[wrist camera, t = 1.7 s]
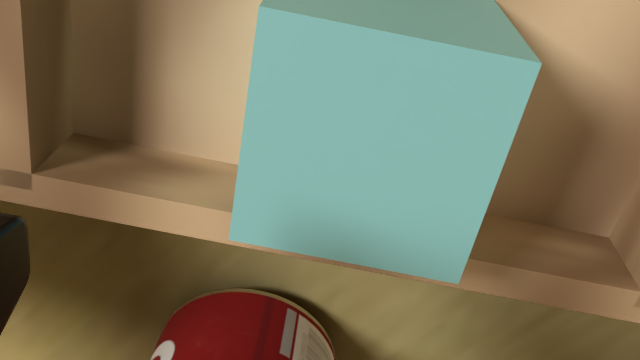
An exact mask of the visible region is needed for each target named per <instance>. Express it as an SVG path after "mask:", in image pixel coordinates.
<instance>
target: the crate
mask: <svg viewBox="0 0 640 360" xmlns="http://www.w3.org/2000/svg"><path fill="white" fill-rule="evenodd" d="M262 1H263V0H0V200H1V201H6V202H12V203H17V204H22V205H27V206H32V207H38V208H43V209H48V210H53V211H58V212H63V213H69V214H74V215H79V216H84V217H89V218H95V219H100V220H105V221H110V222H115V223H121V224H126V225H131V226H136V227H141V228H147V229H152V230H157V231H162V232H167V233H173V234H178V235H183V236H188V237H193V238H199V239H204V240H209V241H214V242H219V243H225V244H230V245H235V246H240V247H245V248H251V249H256V250H261V251H266V252H271V253H277V254H282V255H287V256H292V257H297V258H302V259H308V260H313V261H318V262H323V263H328V264H334V265H339V266H344V267H349V268H354V269H360V270H365V271H370V272H375V273H380V274H386V275H391V276H396V277H401V278H406V279H412V280H417V281H422V282H427V283H432V284H438V285H443V286H448V287H453V288H458V289H464V290H469V291H474V292H479V293H484V294H490V295H495V296H500V297H505V298H510V299H516V300H521V301H526V302H531V303H536V304H541V305H547V306H552V307H557V308H562V309H567V310H573V311H578V312H583V313H588V314H593V315H599V316H604V317H609V318H614V319H619V320H625V321H630V322H635V323H640V0H495V2H496V3H497V4H498V6H499V7H500V8H501V10H502V11H503V12H504V14H505V15H506V16H507V18H508V19H509V20H510V22H511V23H512V24H513V26H514V27H515V28H516V29H517V31H518V32H519V33H520V35H521V36H522V37H523V39H524V40H525V41H526V43H527V44H528V45H529V47H530V48H531V49H532V51H533V52H534V53H535V54H536V56H537V57H538V58H539V60H540V61H541V62H542V65H541V68H540V70H539V73H538V75H537V78H536V81H535V83H534V86H533V89H532V91H531V94H530V97H529V99H528V102H527V104H526V107H525V110H524V112H523V115H522V118H521V120H520V123H519V126H518V128H517V131H516V134H515V136H514V139H513V141H512V144H511V147H510V149H509V152H508V155H507V157H506V160H505V163H504V165H503V168H502V170H501V173H500V176H499V178H498V181H497V184H496V186H495V189H494V192H493V194H492V197H491V200H490V202H489V205H488V207H487V210H486V213H485V215H484V218H483V221H482V223H481V226H480V229H479V231H478V234H477V236H476V239H475V242H474V244H473V247H472V250H471V252H470V255H469V258H468V260H467V263H466V266H465V268H464V271H463V273H462V276H461V279H460V281H459V284H455V283H450V282H444V281H439V280H434V279H429V278H424V277H418V276H413V275H408V274H403V273H398V272H392V271H387V270H382V269H377V268H372V267H366V266H361V265H356V264H351V263H346V262H341V261H335V260H330V259H325V258H320V257H315V256H309V255H304V254H299V253H294V252H289V251H283V250H278V249H273V248H268V247H263V246H257V245H252V244H247V243H242V242H237V241H232V240H229V232H230V224H231V217H232V209H233V201H234V194H235V186H236V178H237V171H238V163H239V155H240V147H241V140H242V132H243V124H244V117H245V109H246V101H247V94H248V86H249V78H250V70H251V63H252V55H253V47H254V40H255V32H256V24H257V17H258V9H259V5H260V4H261V2H262Z"/></svg>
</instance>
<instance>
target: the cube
mask: <svg viewBox="0 0 640 360" xmlns="http://www.w3.org/2000/svg"><path fill="white" fill-rule="evenodd" d="M541 65H542V62H541V61H540V60H539V58H538V57H537V56H536V54H535V53H534V52H533V51H532V49H531V48H530V47H529V45H528V44H527V43H526V41H525V40H524V39H523V37H522V36H521V35H520V33H519V32H518V31H517V29H516V28H515V27H514V26H513V24H512V23H511V22H510V20H509V19H508V18H507V16H506V15H505V14H504V12H503V11H502V10H501V8H500V7H499V6H498V4H497V3H496V2H495V0H263V1H262V2H261V4H260V5H259V9H258V17H257V24H256V32H255V40H254V47H253V55H252V63H251V70H250V78H249V86H248V94H247V101H246V109H245V117H244V124H243V132H242V140H241V147H240V155H239V163H238V171H237V178H236V186H235V194H234V201H233V209H232V217H231V224H230V232H229V240H232V241H237V242H242V243H247V244H252V245H257V246H263V247H268V248H273V249H278V250H283V251H289V252H294V253H299V254H304V255H309V256H315V257H320V258H325V259H330V260H335V261H341V262H346V263H351V264H356V265H361V266H366V267H372V268H377V269H382V270H387V271H392V272H398V273H403V274H408V275H413V276H418V277H424V278H429V279H434V280H439V281H444V282H450V283H455V284H459V281H460V279H461V276H462V273H463V271H464V268H465V266H466V263H467V260H468V258H469V255H470V252H471V250H472V247H473V244H474V242H475V239H476V236H477V234H478V231H479V229H480V226H481V223H482V221H483V218H484V215H485V213H486V210H487V207H488V205H489V202H490V200H491V197H492V194H493V192H494V189H495V186H496V184H497V181H498V178H499V176H500V173H501V170H502V168H503V165H504V163H505V160H506V157H507V155H508V152H509V149H510V147H511V144H512V141H513V139H514V136H515V134H516V131H517V128H518V126H519V123H520V120H521V118H522V115H523V112H524V110H525V107H526V104H527V102H528V99H529V97H530V94H531V91H532V89H533V86H534V83H535V81H536V78H537V75H538V73H539V70H540V68H541Z"/></svg>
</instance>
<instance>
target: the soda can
mask: <svg viewBox="0 0 640 360" xmlns="http://www.w3.org/2000/svg"><path fill="white" fill-rule="evenodd" d="M151 360H336V359H335V352H334V348H333V345H332V342H331V340H330V338H329V336H328V334H327V333H326V331H325V329H324V328H323V327H322V325H321V324H320V323H319V322H318V321H317V320H316V319H315V318H314V317H313V316H312V315H311V314H310V313H308V312H307V311H306V310H304V309H303V308H302V307H300V306H298V305H297V304H295V303H293V302H291V301H289V300H287V299H285V298H283V297H280V296H278V295H275V294H272V293H269V292H264V291H260V290H254V289H244V288H231V289H221V290H215V291H211V292H207V293H204V294H202V295H199V296H197V297H194V298H192V299H191V300H189V301H187V302H186V303H184V304H183V305H182V306H180V307H179V308H178V309H177V310H176V311H175V312H174V313H173V314H172V315H171V317H170V318H169V319H168V321H167V323H166V324H165V327H164V329H163V331H162V334H161V336H160V338H159V341H158V343H157V345H156V348H155V350H154V352H153V355H152V357H151Z"/></svg>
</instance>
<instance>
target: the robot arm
mask: <svg viewBox="0 0 640 360" xmlns="http://www.w3.org/2000/svg"><path fill="white" fill-rule="evenodd" d="M29 274H30V255H29V240H28V228H27V223H26V221H25V220H24V219H23V218H22V217H20V216H17V215H11V214H6V213H1V212H0V335H1V333H2V331H3V329H4V327H5V325H6V323H7V321H8V319H9V317H10V315H11V313H12V312H13V310H14V308H15V306H16V304H17V302H18V300H19V298H20V296H21V294H22V292H23V290H24V288H25V286H26V284H27V281H28V278H29Z"/></svg>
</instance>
